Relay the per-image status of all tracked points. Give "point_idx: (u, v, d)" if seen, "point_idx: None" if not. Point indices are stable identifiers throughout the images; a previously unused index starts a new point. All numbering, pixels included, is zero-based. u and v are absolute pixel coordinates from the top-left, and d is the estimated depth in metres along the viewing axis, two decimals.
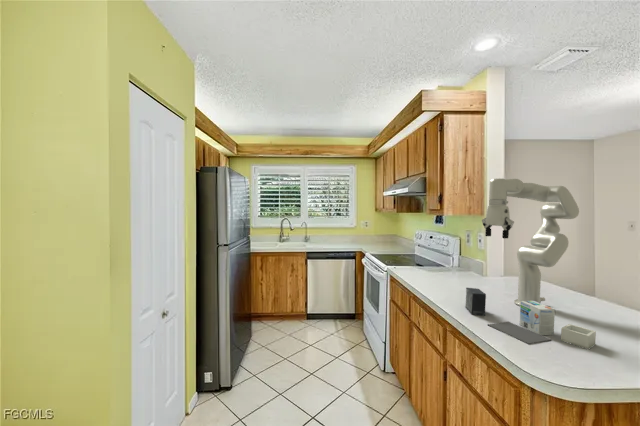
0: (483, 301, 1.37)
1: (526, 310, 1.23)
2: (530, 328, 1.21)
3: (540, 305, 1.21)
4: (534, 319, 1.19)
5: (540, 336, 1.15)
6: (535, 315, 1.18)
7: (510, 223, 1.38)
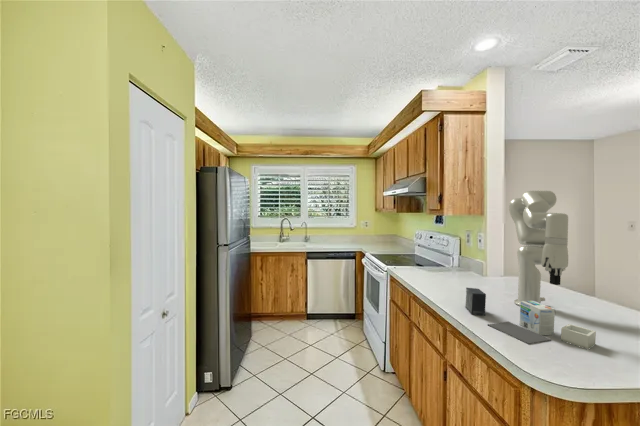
0: (483, 301, 1.37)
1: (526, 310, 1.23)
2: (530, 328, 1.21)
3: (540, 305, 1.21)
4: (534, 319, 1.19)
5: (540, 336, 1.15)
6: (535, 315, 1.18)
7: (563, 269, 1.25)
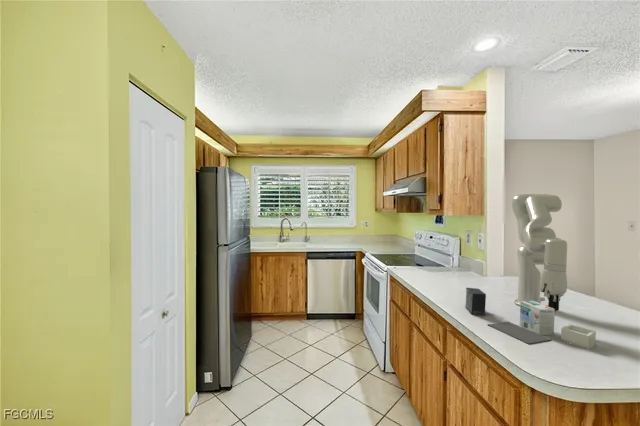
0: (483, 301, 1.37)
1: (526, 310, 1.23)
2: (530, 328, 1.21)
3: (540, 305, 1.21)
4: (534, 319, 1.19)
5: (540, 336, 1.15)
6: (535, 315, 1.18)
7: (562, 294, 1.25)
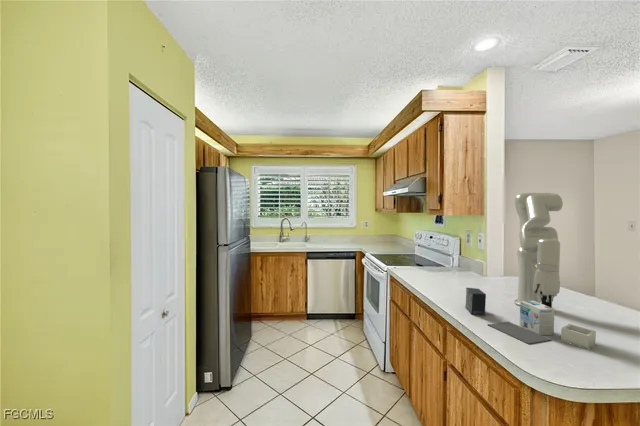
0: (483, 301, 1.37)
1: (526, 310, 1.23)
2: (530, 328, 1.21)
3: (540, 305, 1.21)
4: (534, 319, 1.19)
5: (540, 336, 1.15)
6: (535, 315, 1.18)
7: (555, 295, 1.24)
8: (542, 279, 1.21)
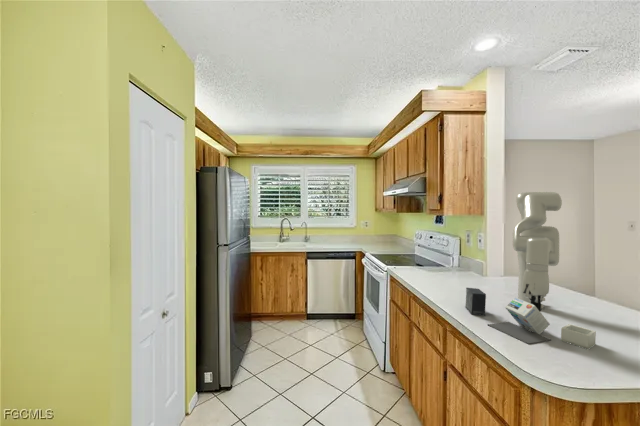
0: (483, 301, 1.37)
1: (515, 315, 1.23)
2: (529, 329, 1.21)
3: (522, 306, 1.20)
4: (526, 322, 1.19)
5: (540, 336, 1.15)
6: (524, 320, 1.18)
7: (544, 295, 1.22)
8: (531, 279, 1.19)
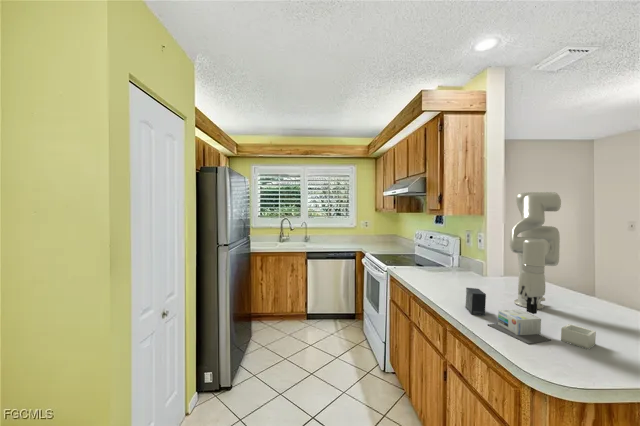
0: (483, 301, 1.37)
1: None
2: None
3: (508, 321, 1.19)
4: None
5: (540, 336, 1.15)
6: None
7: (540, 297, 1.22)
8: (527, 281, 1.18)
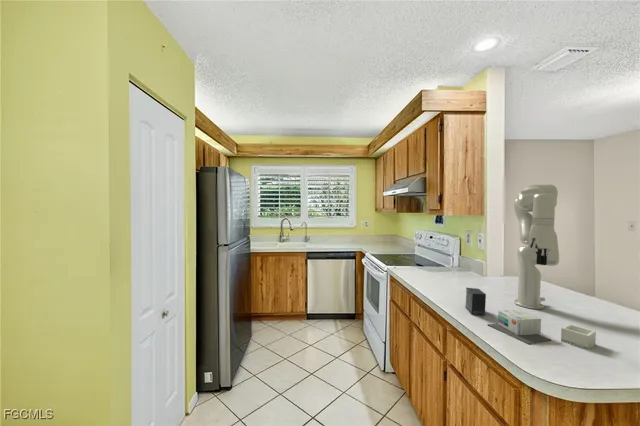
0: (483, 301, 1.37)
1: None
2: None
3: (508, 321, 1.19)
4: None
5: (540, 336, 1.15)
6: None
7: (550, 249, 1.25)
8: (537, 233, 1.22)
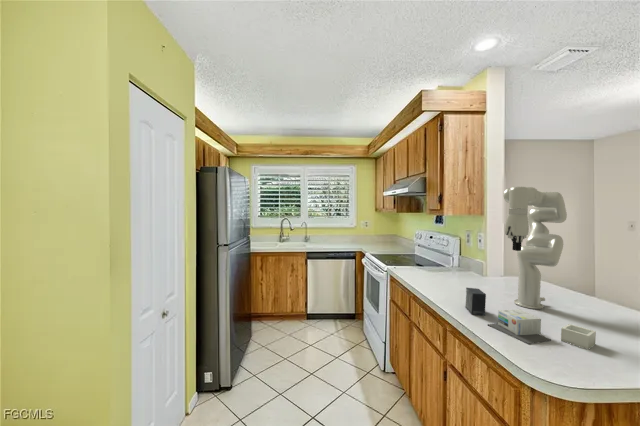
0: (483, 301, 1.37)
1: None
2: None
3: (508, 321, 1.19)
4: None
5: (540, 336, 1.15)
6: None
7: (524, 237, 1.40)
8: (512, 221, 1.36)
